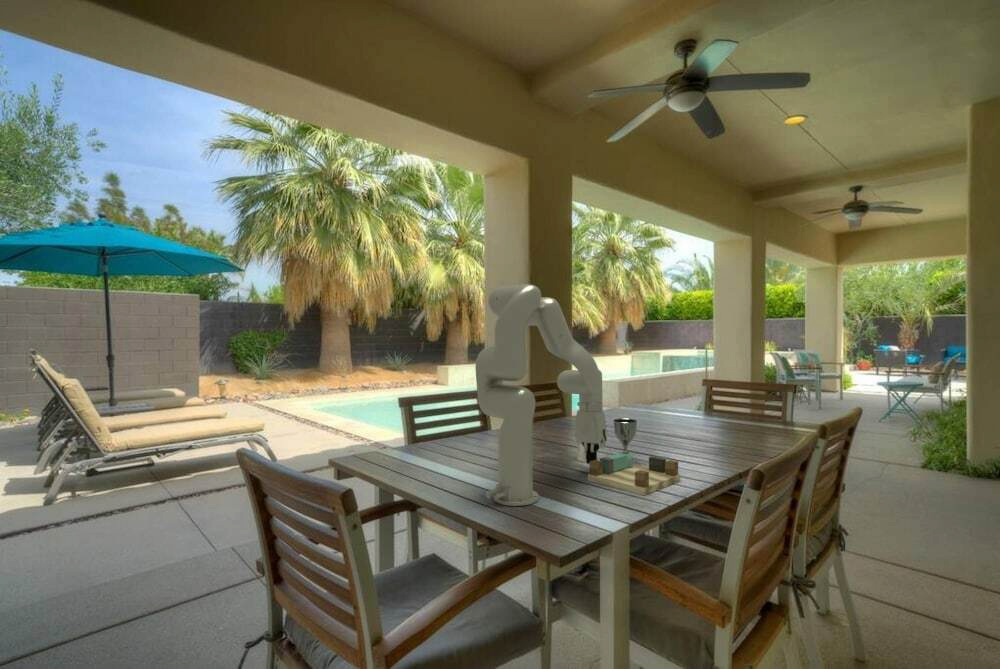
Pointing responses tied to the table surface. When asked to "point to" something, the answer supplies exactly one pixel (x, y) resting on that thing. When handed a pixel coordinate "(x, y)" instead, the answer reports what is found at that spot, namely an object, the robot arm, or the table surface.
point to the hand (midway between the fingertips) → (591, 463)
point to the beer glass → (581, 452)
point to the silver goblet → (625, 431)
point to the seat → (637, 476)
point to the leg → (617, 462)
